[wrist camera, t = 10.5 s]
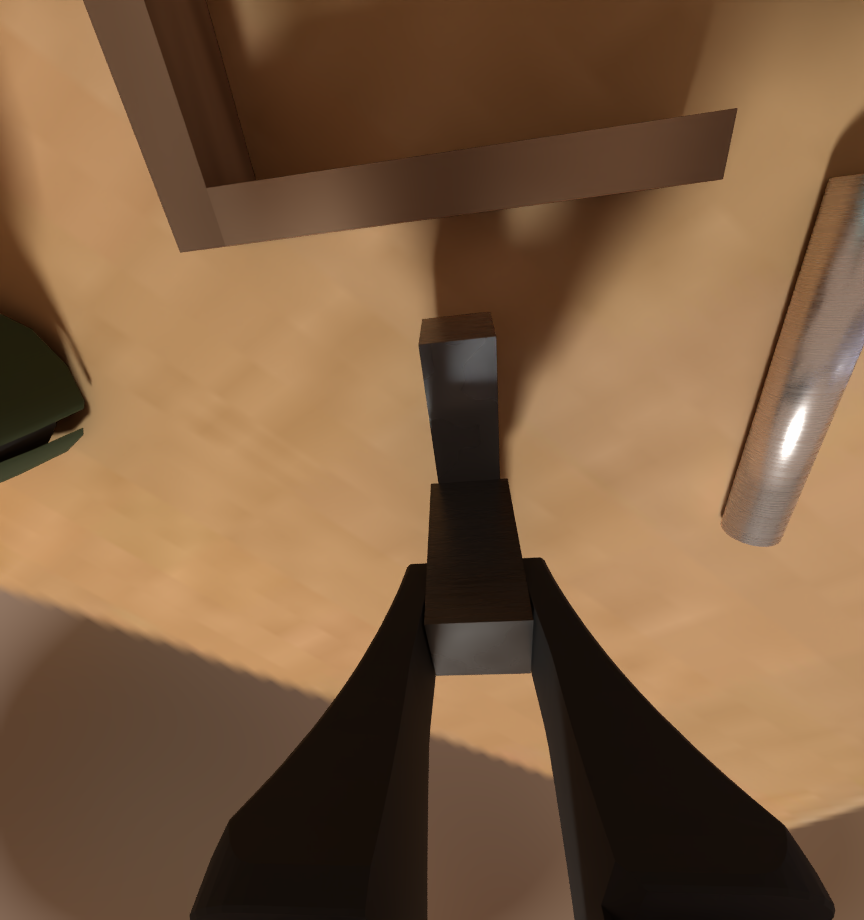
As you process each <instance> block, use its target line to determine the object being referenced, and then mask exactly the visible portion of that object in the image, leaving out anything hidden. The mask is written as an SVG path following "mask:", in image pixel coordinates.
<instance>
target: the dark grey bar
mask: <svg viewBox="0 0 864 920" xmlns="http://www.w3.org/2000/svg"><path fill="white" fill-rule="evenodd" d="M419 351H420V358H421V365H422V372H423V379H424V386H425V393H426V400H427V407H428V414H429V421H430V428H431V434H432V441H433V448H434V455H435V462H436V469H437V476H438V484H431V495H430V515H429V535H428V555H427V575H426V595H425V615H424V626H425V631H426V635H427V639H428V643H429V648H430V652H431V656H432V660H433V664H434V669H435V673H436V676H442V675H482V674H521V673H531V658H532V640H533V621H534V620H533V615H532V609H531V604H530V598H529V593H528V587H527V582H526V576H525V571H524V565H523V560H522V555H521V549H520V544H519V538H518V533H517V527H516V522H515V516H514V511H513V505H512V500H511V494H510V489H509V484H508V479H500V467H499V427H498V387H497V347H496V334H495V330H494V326H493V322H492V318H491V315H490V312H484V313H475V314H466V315H457V316H448V317H438V318H429V319H422V325H421V332H420V338H419Z"/></svg>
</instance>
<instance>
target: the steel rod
mask: <svg viewBox="0 0 864 920" xmlns="http://www.w3.org/2000/svg"><path fill="white" fill-rule="evenodd" d="M863 346H864V173H863V174H855V175H848V176H840V177H833V178H829V181H828V184H827V187H826V190H825V193H824V197H823V200H822V203H821V206H820V209H819V212H818V216H817V219H816V222H815V225H814V228H813V231H812V235H811V238H810V241H809V244H808V247H807V250H806V254H805V257H804V260H803V263H802V266H801V269H800V273H799V276H798V279H797V282H796V285H795V288H794V292H793V295H792V298H791V301H790V304H789V307H788V311H787V314H786V317H785V320H784V323H783V326H782V330H781V333H780V336H779V339H778V342H777V345H776V349H775V352H774V355H773V358H772V361H771V364H770V368H769V371H768V374H767V377H766V380H765V384H764V387H763V390H762V393H761V396H760V399H759V403H758V406H757V409H756V412H755V415H754V418H753V422H752V425H751V428H750V431H749V434H748V437H747V441H746V444H745V447H744V450H743V453H742V456H741V460H740V463H739V466H738V469H737V472H736V475H735V479H734V482H733V485H732V488H731V491H730V494H729V498H728V501H727V504H726V507H725V510H724V513H723V517H722V520H721V527H722V529H723V530H724V531H725V532H726V533H727V534H728V535H729V536H731V537H732V538H734V539H736V540H738V541H740V542H743V543H746V544H749V545H753V546H761V547H768V546H773V545H776V544H778V543H779V542H780V541H781V539H782V537H783V534H784V532H785V530H786V527H787V525H788V523H789V520H790V518H791V515H792V513H793V511H794V508H795V506H796V504H797V501H798V499H799V497H800V494H801V492H802V490H803V487H804V485H805V483H806V480H807V478H808V475H809V473H810V471H811V468H812V466H813V464H814V461H815V459H816V457H817V454H818V452H819V450H820V447H821V445H822V442H823V440H824V438H825V435H826V433H827V431H828V428H829V426H830V424H831V421H832V419H833V417H834V414H835V412H836V410H837V407H838V405H839V402H840V400H841V398H842V395H843V393H844V391H845V388H846V386H847V384H848V381H849V379H850V377H851V374H852V372H853V370H854V367H855V365H856V362H857V360H858V358H859V355H860V353H861V351H862V348H863Z"/></svg>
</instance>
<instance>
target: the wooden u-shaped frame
mask: <svg viewBox="0 0 864 920" xmlns="http://www.w3.org/2000/svg"><path fill="white" fill-rule="evenodd" d="M83 1H84V4H85V7H86V9H87V12H88V14H89V17H90V20H91V22H92V25H93V27H94V30H95V33H96V35H97V38H98V40H99V43H100V46H101V48H102V51H103V53H104V56H105V59H106V61H107V64H108V66H109V69H110V72H111V74H112V77H113V79H114V82H115V85H116V87H117V90H118V92H119V95H120V98H121V100H122V103H123V105H124V108H125V110H126V113H127V116H128V118H129V121H130V123H131V126H132V129H133V131H134V134H135V136H136V139H137V142H138V144H139V147H140V149H141V152H142V155H143V157H144V160H145V162H146V165H147V168H148V170H149V173H150V175H151V178H152V181H153V183H154V186H155V188H156V191H157V194H158V196H159V199H160V201H161V204H162V207H163V209H164V212H165V214H166V217H167V219H168V222H169V225H170V227H171V230H172V232H173V235H174V238H175V240H176V243H177V245H178V248H179V251H180V252H188V251H196V250H203V249H211V248H219V247H226V246H234V245H241V244H249V243H256V242H264V241H271V240H279V239H286V238H293V237H301V236H308V235H316V234H323V233H330V232H338V231H345V230H353V229H360V228H367V227H375V226H382V225H390V224H397V223H404V222H412V221H419V220H427V219H434V218H442V217H449V216H456V215H464V214H471V213H479V212H486V211H493V210H501V209H508V208H516V207H523V206H530V205H538V204H545V203H553V202H560V201H567V200H575V199H582V198H590V197H597V196H604V195H612V194H619V193H627V192H634V191H642V190H649V189H656V188H664V187H671V186H678V185H685V184H692V183H700V182H707V181H714V180H721V179H723V177H724V172H725V167H726V162H727V157H728V152H729V147H730V142H731V138H732V133H733V128H734V123H735V118H736V113H737V108H734V109H728V110H721V111H714V112H708V113H701V114H695V115H688V116H681V117H675V118H668V119H661V120H655V121H648V122H641V123H635V124H628V125H622V126H615V127H608V128H602V129H595V130H588V131H582V132H575V133H569V134H562V135H555V136H549V137H542V138H535V139H529V140H522V141H516V142H509V143H502V144H496V145H489V146H482V147H476V148H469V149H462V150H456V151H449V152H443V153H436V154H429V155H423V156H416V157H409V158H403V159H396V160H390V161H383V162H376V163H370V164H363V165H356V166H350V167H343V168H336V169H330V170H323V171H317V172H310V173H303V174H297V175H290V176H283V177H277V178H270V179H264V180H257V181H256V180H255V176H254V172H253V169H252V165H251V162H250V158H249V154H248V151H247V147H246V144H245V140H244V136H243V133H242V129H241V126H240V122H239V118H238V115H237V111H236V108H235V104H234V100H233V97H232V93H231V90H230V86H229V82H228V79H227V75H226V72H225V68H224V65H223V61H222V57H221V54H220V50H219V47H218V43H217V39H216V36H215V32H214V29H213V25H212V21H211V18H210V14H209V11H208V7H207V3H206V0H83Z"/></svg>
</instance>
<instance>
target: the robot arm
mask: <svg viewBox="0 0 864 920" xmlns="http://www.w3.org/2000/svg"><path fill="white" fill-rule="evenodd" d="M522 560H523V565H524V571H525V576H526V582H527V587H528V593H529V598H530V604H531V609H532V615H533V620H534V621H533V640H532V658H531V673H532V677H533V681H534V685H535V689H536V693H537V697H538V702H539V706H540V710H541V714H542V718H543V722H544V726H545V731H546V736H547V741H548V746H549V752H550V758H551V765H552V771H553V777H554V783H555V790H556V796H557V803H558V809H559V816H560V822H561V828H562V835H563V842H564V849H565V855H566V862H567V869H568V876H569V883H570V889H571V897H572V903H573V911H574V918H575V920H832V918H833V917H834V913H835V908H834V903H833V901H832V900H831V898H830V896H829V894H828V892H827V891H826V889H825V887H824V885H823V883H822V882H821V880H820V878H819V876H818V874H817V873H816V872H815V870H814V868H813V867H812V865H811V864H810V862H809V861H808V859H807V858H806V856H805V855H804V853H803V851H802V850H801V849H800V847H799V845H798V844H797V843H796V841H795V840H794V838H793V837H792V835H791V834H790V832H789V831H788V829H787V828H786V827H785V825H783V824H782V823H781V822H780V821H779V820H778V819H776V818H775V817H774V816H773V815H772V814H770V813H769V812H768V811H767V810H766V809H764V808H763V807H762V806H761V805H760V804H758V803H757V802H756V801H755V800H754V799H752V798H751V797H750V796H749V795H748V794H747V793H745V792H744V791H743V790H742V789H741V788H740V787H739V786H737V785H736V784H735V783H734V782H733V781H732V780H730V779H729V778H728V777H727V776H726V775H725V774H724V773H723V772H721V771H720V770H719V769H718V768H717V767H716V766H715V765H714V764H713V763H712V762H710V761H709V760H708V759H707V758H706V757H705V756H704V755H703V754H702V753H701V752H699V751H698V750H697V749H696V748H695V747H694V746H693V745H692V744H691V743H690V742H689V741H688V740H687V739H686V738H685V737H684V736H683V735H682V734H681V733H680V732H679V731H678V730H677V729H676V728H675V727H674V726H673V725H672V724H671V723H670V722H669V721H668V720H666V719H665V718H664V717H663V716H662V715H661V714H660V713H659V712H658V711H657V710H656V709H655V708H654V707H653V705H652V704H651V703H650V702H649V701H648V700H647V699H646V698H645V697H644V696H643V695H642V694H641V693H640V692H639V691H638V689H637V688H636V687H635V686H634V685H633V684H632V683H631V682H630V681H629V679H628V678H627V677H626V676H625V675H624V674H623V673H622V672H621V670H620V669H619V668H618V667H617V666H616V664H615V663H614V662H613V661H612V660H611V658H610V657H609V656H608V655H607V654H606V652H605V651H604V650H603V648H602V647H601V646H600V645H599V643H598V642H597V641H596V640H595V638H594V637H593V636H592V634H591V633H590V632H589V630H588V629H587V628H586V626H585V625H584V623H583V622H582V621H581V619H580V618H579V616H578V615H577V613H576V612H575V611H574V609H573V608H572V606H571V605H570V603H569V602H568V600H567V599H566V597H565V596H564V594H563V593H562V591H561V589H560V588H559V586H558V584H557V583H556V581H555V579H554V578H553V576H552V574H551V572H550V570H549V569H548V567H547V565H546V563H545V560H543V559H542V558H541V557H540V558H522ZM426 575H427V563H425V564H410V565H409V566H408V567H407V569H406V572H405V575H404V578H403V580H402V583H401V585H400V587H399V590H398V592H397V594H396V596H395V598H394V601H393V603H392V605H391V607H390V609H389V611H388V613H387V615H386V617H385V619H384V621H383V623H382V625H381V626H380V628H379V630H378V632H377V634H376V635H375V637H374V639H373V641H372V642H371V644H370V646H369V648H368V649H367V651H366V653H365V654H364V656H363V658H362V659H361V661H360V663H359V664H358V666H357V667H356V669H355V670H354V672H353V673H352V675H351V677H350V678H349V679H348V681H347V682H346V684H345V685H344V687H343V688H342V690H341V691H340V693H339V694H338V695H337V697H336V698H335V699H334V701H333V702H332V703H331V705H330V706H329V707H328V709H327V710H326V711H325V713H324V714H323V716H322V717H321V718H320V719H319V721H318V722H317V723H316V725H315V726H314V727H313V728H312V730H311V731H310V732H309V733H308V734H307V735H306V737H305V738H304V739H303V740H302V741H301V743H300V744H299V745H298V746H297V747H296V748H295V750H294V751H293V752H292V753H291V754H290V755H289V757H288V758H287V759H286V760H285V761H284V763H283V764H282V765H281V766H280V767H279V768H278V769H277V770H276V772H275V773H274V774H273V775H272V776H271V777H270V778H269V779H268V780H267V781H266V782H265V783H264V784H263V785H262V786H261V788H260V789H259V790H258V791H257V792H256V793H255V794H254V795H253V796H252V797H251V798H250V799H249V800H248V801H247V802H246V803H245V804H244V805H243V806H242V807H241V808H240V810H239V811H238V812H237V813H236V814H235V815H234V816H233V817H232V818H231V819H230V820H229V822H228V824H227V826H226V828H225V830H224V833H223V835H222V837H221V839H220V841H219V843H218V845H217V847H216V849H215V851H214V854H213V856H212V858H211V860H210V863H209V866H208V868H207V871H206V873H205V876H204V879H203V882H202V884H201V887H200V889H199V892H198V895H197V897H196V900H195V903H194V905H193V908H192V910H191V913H190V920H427V845H428V844H427V840H428V838H427V837H428V771H429V770H428V768H429V739H430V725H431V715H432V706H433V696H434V686H435V677H436V673H435V669H434V664H433V660H432V656H431V652H430V648H429V643H428V639H427V635H426V631H425V626H424V615H425V595H426Z"/></svg>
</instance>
